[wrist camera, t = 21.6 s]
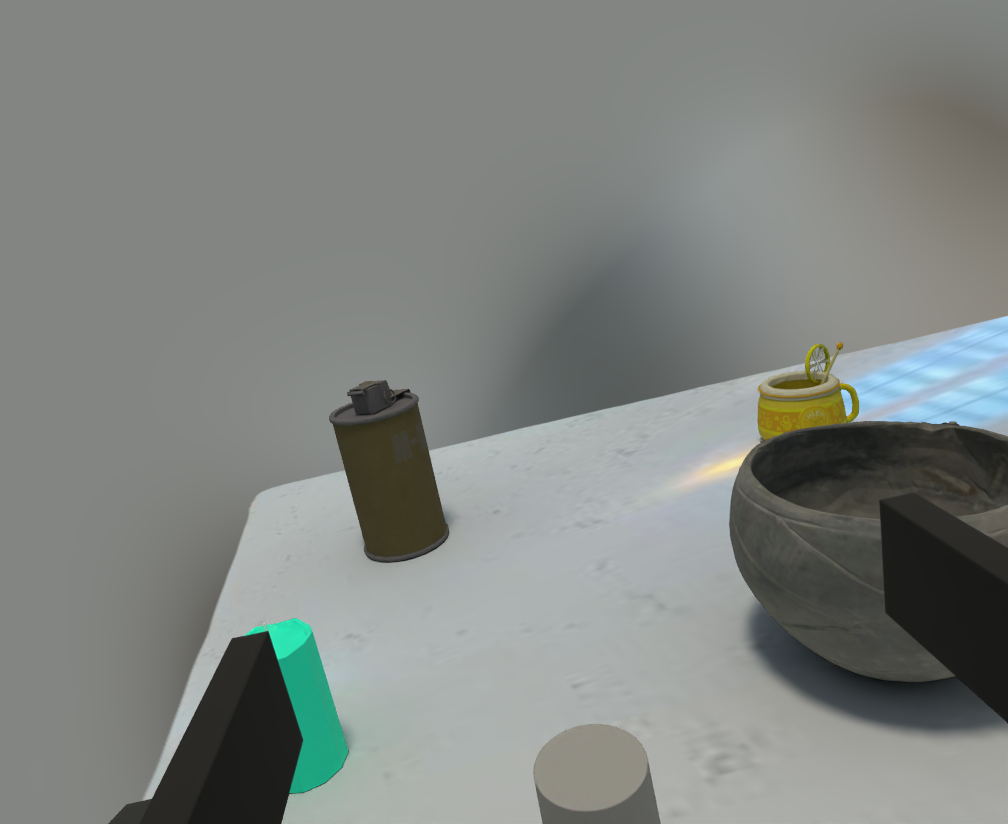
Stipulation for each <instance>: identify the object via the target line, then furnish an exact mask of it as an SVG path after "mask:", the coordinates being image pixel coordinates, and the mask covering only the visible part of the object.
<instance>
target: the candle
mask: <svg viewBox="0 0 1008 824" xmlns="http://www.w3.org/2000/svg"><path fill="white" fill-rule="evenodd" d="M263 625H264V626H260V627H255V628H254V629H252V630H251V631H250V632H248V633H247V634H246V635H251V634H256V633H260V632H265V631H269V634H270V637H271V640H272V644H273V647H274V650H275V653H276V656H277V659H278V662H279V665H280V669H281V672H282V675H283V678H284V681H285V684H286V687H287V690H288V694H289V697H290V700H291V703H292V706H293V709H294V712H295V715H296V719H297V722H298V725H299V728H300V731H301V734H302V737H303V744H302V747H301V751H300V755H299V759H298V762H297V766H296V770H295V774H294V777H293V781H292V785H291V789H290V792H289V793H301V792H306V791H308V790H310V789H312V788H315V787H317V786H319V785H321V784H323V783H325V782H327V781H328V780H329V779H330V778H331V777H332V776H333V775H334V774H335V773H336V772H337V771H339V770H340V769H341V768H342V766H343V763H344V761H345V759H346V756H347V754H348V749H347V745H346V742H345V739H344V735H343V732H342V729H341V725H340V722H339V719H338V715H337V712H336V709H335V705H334V702H333V699H332V695H331V692H330V689H329V685H328V682H327V679H326V675H325V672H324V669H323V665H322V662H321V659H320V655H319V652H318V649H317V645H316V642H315V639H314V635H313V632H312V629H311V627H310V626H309V625H308V624H306V623H304V622H302V621H300V620H299V619H297V618H294V619H291V620H287V621H284V622H280V623H276V624H271V625H266V624H265V622H264V623H263ZM246 635H244V636H246Z"/></svg>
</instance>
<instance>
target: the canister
mask: <svg viewBox="0 0 1008 824" xmlns="http://www.w3.org/2000/svg"><path fill="white" fill-rule="evenodd" d="M349 391H350V392H347V395H348V396H351V398H352V403H349V404H347V405H345V406H343V407H341V408H339V409H336V410H335V411H334V412H332V413H331V415H330V416H329V420H330V422H331V423H332V424H333V427H334V430H335V434H336V438H337V441H338V445H339V449H340V453H341V456H342V460H343V464H344V468H345V471H346V475H347V479H348V483H349V486H350V490H351V494H352V497H353V501H354V505H355V509H356V512H357V516H358V520H359V523H360V527H361V531H362V535H363V538H364V542H365V546H364V551H365V554H366V555H367V556H368V557H369V558H371V559H373V560H376V561H380V562H394V561H401V560H405V559H409V558H413V557H417V556H421V555H423V554H425V553H427V552H428V551H430V550H432V549H434V548H436V547H438V546H439V545H440V544H441V543H442V542H444V540H445V539H446V538H447V536H448V534H449V528H448V526H447V524H446V523H445V519H444V515H443V511H442V506H441V502H440V498H439V494H438V489H437V485H436V481H435V476H434V472H433V468H432V464H431V459H430V455H429V451H428V447H427V442H426V438H425V434H424V429H423V425H422V421H421V416H420V412H419V408H418V400H419V398H418V396H417V395H415V394H413V393H410V390H409V389H402V390H394V391H393V390H391V389H389V386H388V383H387V381H368V382H367V381H366V382H363V383H362V384H359V386H357V387H355V388H353V389H350V390H349ZM390 391H391V392H390Z"/></svg>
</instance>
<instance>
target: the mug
mask: <svg viewBox="0 0 1008 824" xmlns="http://www.w3.org/2000/svg"><path fill="white" fill-rule="evenodd" d="M817 347H819V352H818V356H819V353H820V350H821V348H822V353H821V356H822V354H823V351H824V353H825V357H826V358H825V359H824V360H822V361H820V362H819V361H818V363H819V365H820V364H821V363H826V366H825V370H824V371H823V370H822V368H821V370H822V372H821V371H820V370H819V366H817V367H818V369H817V371H815V369H814V371H810V369H811V368H812V367H814V366H815V367H816V365H818V364H817V362H816V361H815V359H814V356H813V353H814V355H815V357H816V358H817V360H818V357H817V356H816V353H815V349H816V348H817ZM842 348H843V343H841V342H840V343H838V344H837V350H836V352H835V354H834V356H833V358H832V360H831V363H830V356H829V352H828V350H827V348H826V347H825V346H824V345H822V344H816V345H814V346H812V348H811V349H810V350H809V352H808V354H807V356H806V363H805V368H806V371H796V372H789V373H783V374H779V375H775V376H772V377H770V378H768V379H766V380H765V381H763V382H762V383H761V385H760V386H759V387H758V391H759V392H760V398H759V402H758V430H759V433H760V435H761V436H762V438H763V439H764V440H765V441H766V440H767V439H770V438H773V437H775V436H778V435H781V434H783V433H785V432H790V431H794V430H798V429H803V428H809V427H816V426H824V425H832V424H841V423H848V422H851V421H853V420H854V419H855V418H856V417H857V415H858V413H859V400H858V397H857V393H856V391H855V389H854V388H853V387H851V386H850V385H848V384H843V383H841V384H840V382H839V379H837V378H836V377H835V376H834V375H832V374H829V372H830V370H831V368H832V365H833V363H834V361H835V359H836V357H837V355H838V352H839V350H840V349H842ZM811 355H812V357H813V359H814V361H815V362H816V363H815V364H811V365H810V358H811ZM820 360H821V358H820ZM820 367H821V366H820ZM818 370H819V371H818ZM841 389H844V390H847V391H848V392H849V393H850V395H851V398H852V404H853V406H852V412H851V414H850V415H849V416H846V412H845V406H844V402H843V398H842V395H841V392H840V391H841Z"/></svg>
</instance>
